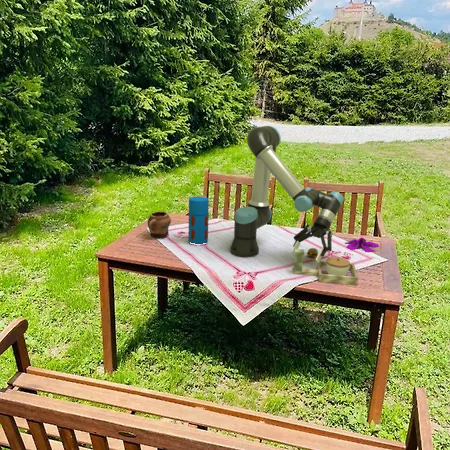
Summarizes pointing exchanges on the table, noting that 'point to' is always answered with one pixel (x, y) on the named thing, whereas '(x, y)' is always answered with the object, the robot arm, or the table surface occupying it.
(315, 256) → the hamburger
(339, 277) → the pull frame
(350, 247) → the cloth
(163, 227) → the decorative planter
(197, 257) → the table surface
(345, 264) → the lidded jar
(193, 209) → the thermos
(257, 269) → the table surface
